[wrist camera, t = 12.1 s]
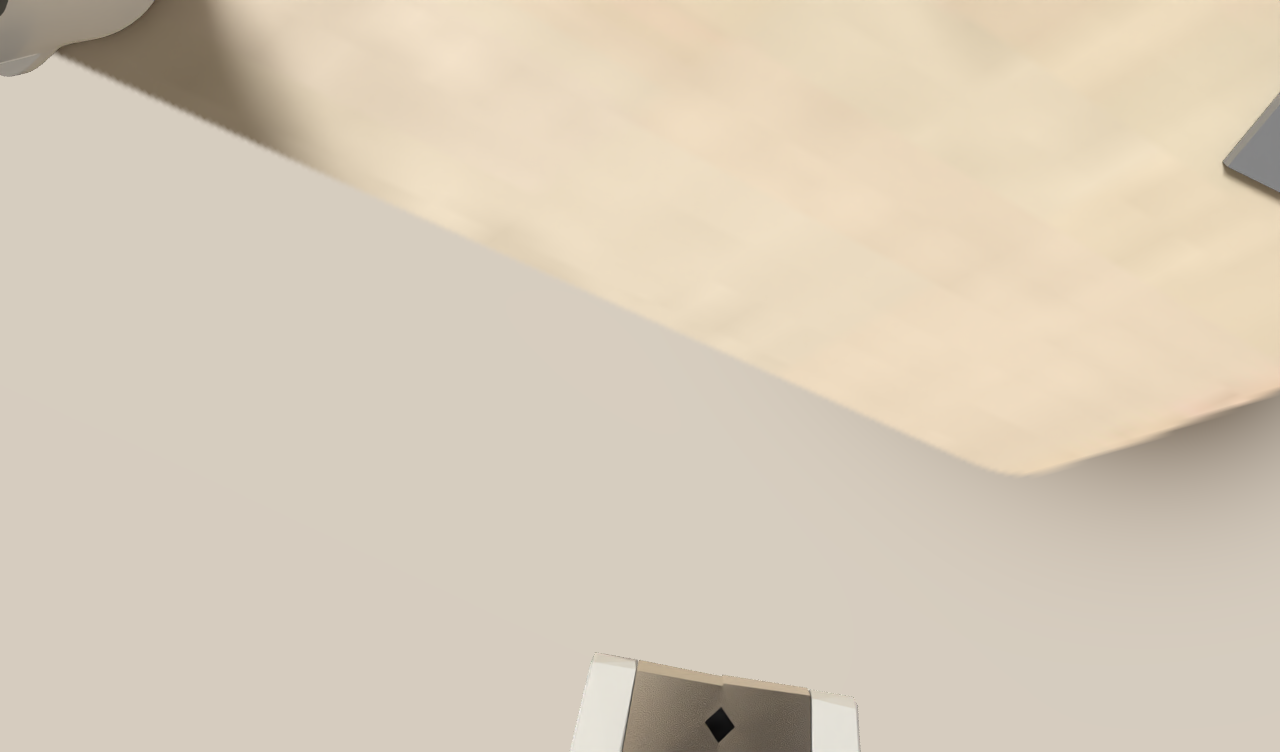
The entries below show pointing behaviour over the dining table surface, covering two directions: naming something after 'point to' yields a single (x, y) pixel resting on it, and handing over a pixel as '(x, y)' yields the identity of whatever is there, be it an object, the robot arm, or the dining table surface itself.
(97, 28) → the robot arm
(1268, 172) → the slate tile
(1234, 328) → the dining table surface
